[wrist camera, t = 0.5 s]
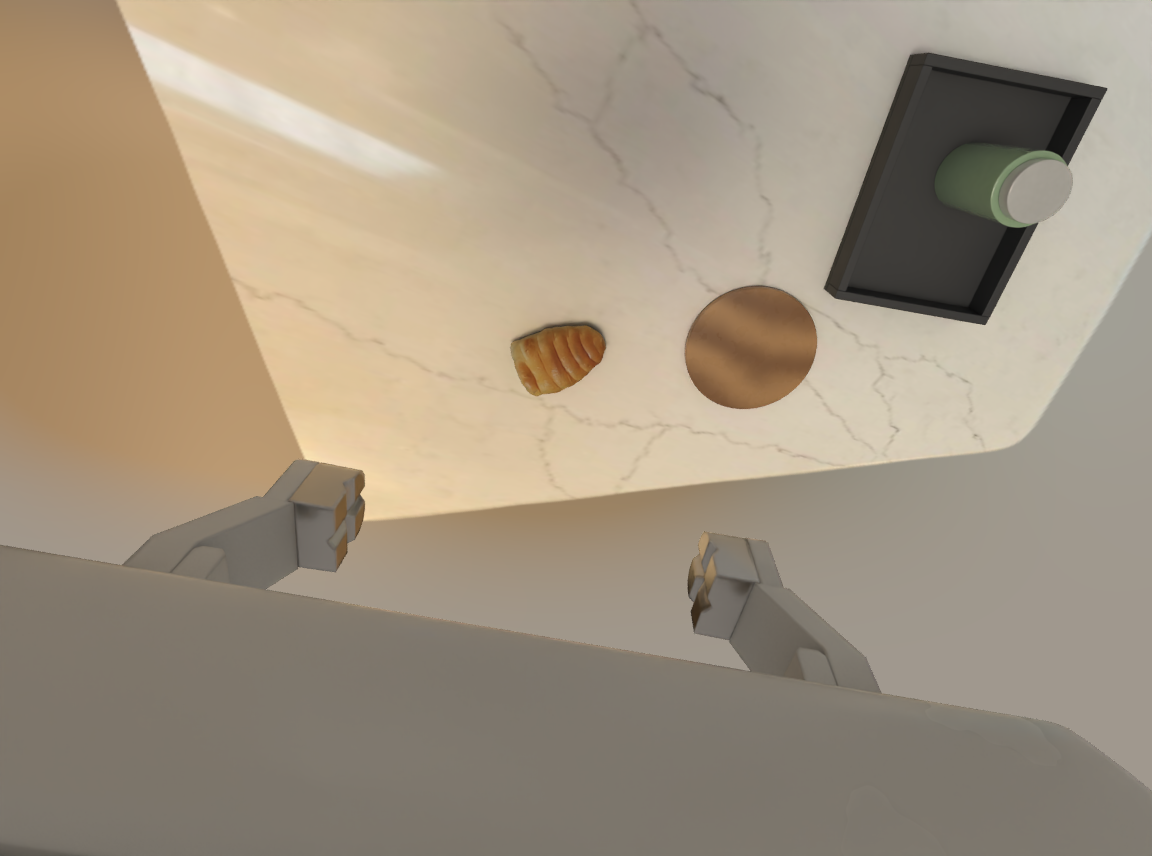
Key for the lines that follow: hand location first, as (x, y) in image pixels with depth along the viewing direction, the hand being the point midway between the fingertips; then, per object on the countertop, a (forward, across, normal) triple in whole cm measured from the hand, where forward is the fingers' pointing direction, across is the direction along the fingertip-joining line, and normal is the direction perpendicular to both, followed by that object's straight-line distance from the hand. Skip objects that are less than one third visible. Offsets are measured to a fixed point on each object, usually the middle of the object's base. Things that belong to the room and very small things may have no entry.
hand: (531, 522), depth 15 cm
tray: (+48, -31, -6) cm, 57 cm away
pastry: (+48, +1, +16) cm, 50 cm away
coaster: (+48, -18, +11) cm, 52 cm away
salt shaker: (+47, -32, -8) cm, 57 cm away
